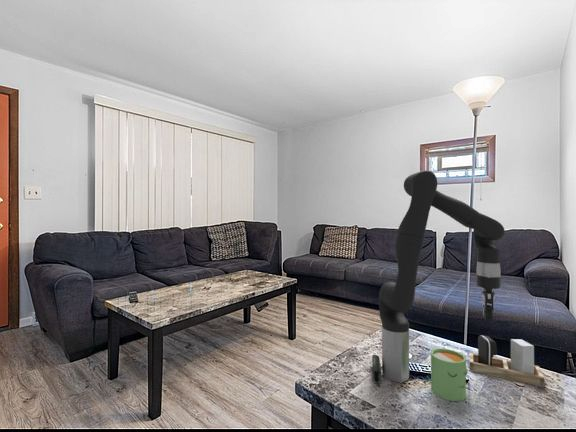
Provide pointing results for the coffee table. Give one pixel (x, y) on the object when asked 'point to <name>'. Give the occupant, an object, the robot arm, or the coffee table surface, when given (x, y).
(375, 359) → the mobile phone
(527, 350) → the skincare box
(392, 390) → the coffee table surface
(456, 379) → the mug
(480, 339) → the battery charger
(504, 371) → the slot organizer
